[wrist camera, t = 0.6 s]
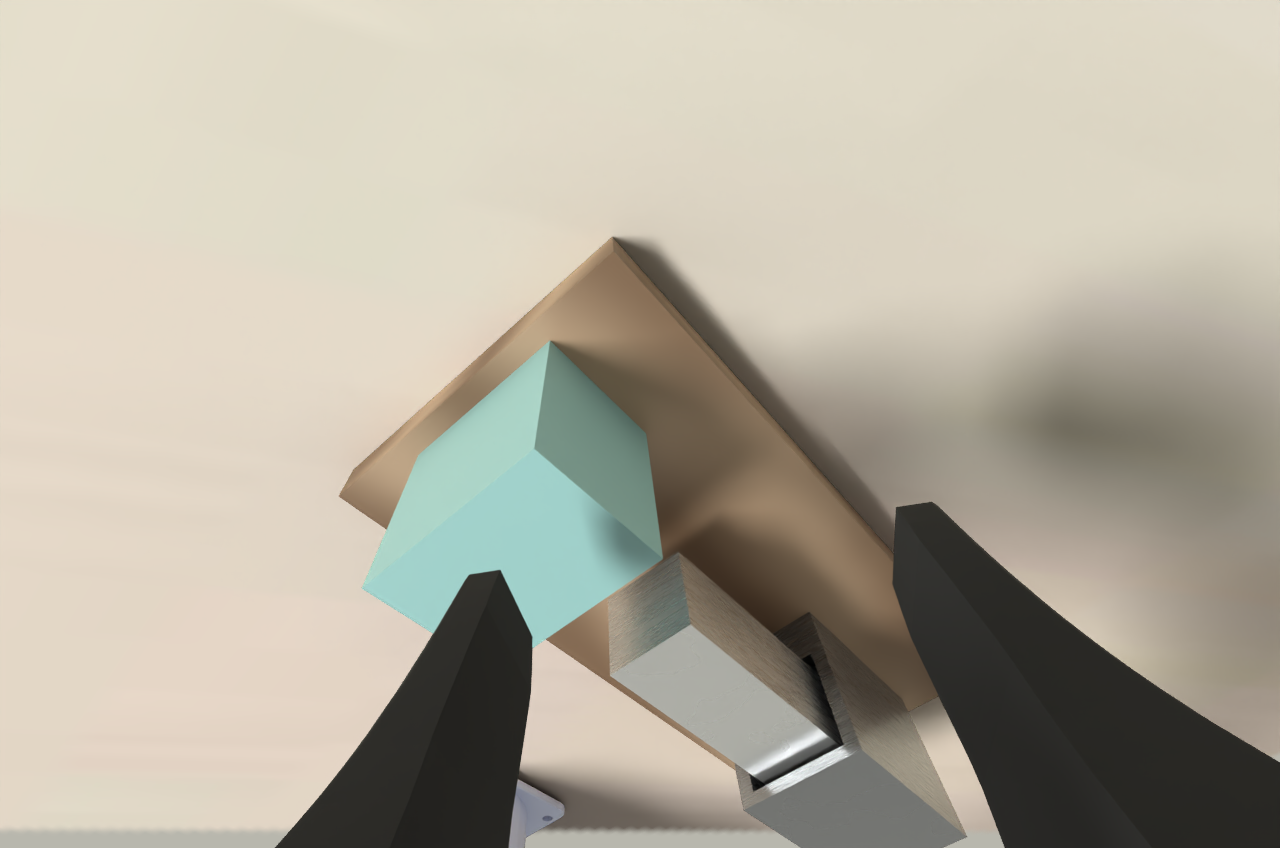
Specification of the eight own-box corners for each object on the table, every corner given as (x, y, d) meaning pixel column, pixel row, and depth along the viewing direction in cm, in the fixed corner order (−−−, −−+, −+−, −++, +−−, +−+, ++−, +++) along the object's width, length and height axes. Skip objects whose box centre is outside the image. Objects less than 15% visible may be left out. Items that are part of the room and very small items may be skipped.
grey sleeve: (814, 745, 30) (858, 884, 25) (715, 668, 26) (743, 810, 22) (902, 699, 28) (967, 836, 23) (809, 611, 25) (861, 749, 20)
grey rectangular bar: (818, 761, 27) (842, 838, 24) (607, 599, 21) (610, 675, 19) (881, 729, 26) (913, 805, 23) (678, 551, 20) (690, 624, 18)
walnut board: (754, 758, 32) (761, 788, 31) (353, 470, 22) (338, 496, 21) (971, 641, 29) (989, 669, 28) (612, 236, 19) (613, 251, 18)
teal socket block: (518, 531, 22) (496, 673, 17) (418, 455, 20) (361, 588, 15) (645, 433, 21) (662, 558, 16) (549, 340, 19) (534, 448, 14)
